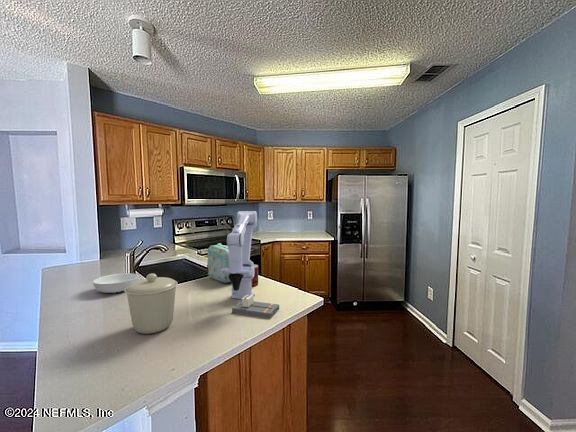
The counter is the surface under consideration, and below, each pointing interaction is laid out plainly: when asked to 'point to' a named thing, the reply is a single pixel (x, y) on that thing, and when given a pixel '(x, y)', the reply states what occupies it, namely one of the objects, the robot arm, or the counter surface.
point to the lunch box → (218, 262)
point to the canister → (151, 303)
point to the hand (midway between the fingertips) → (236, 289)
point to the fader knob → (247, 300)
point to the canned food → (255, 277)
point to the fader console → (257, 309)
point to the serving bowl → (114, 282)
